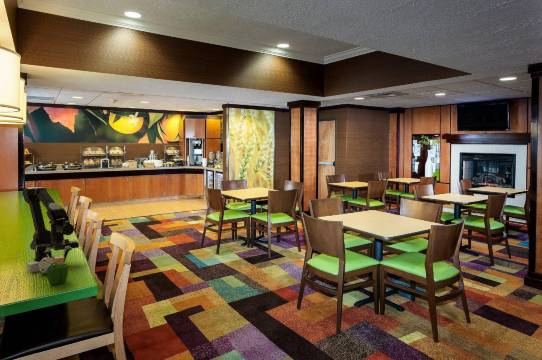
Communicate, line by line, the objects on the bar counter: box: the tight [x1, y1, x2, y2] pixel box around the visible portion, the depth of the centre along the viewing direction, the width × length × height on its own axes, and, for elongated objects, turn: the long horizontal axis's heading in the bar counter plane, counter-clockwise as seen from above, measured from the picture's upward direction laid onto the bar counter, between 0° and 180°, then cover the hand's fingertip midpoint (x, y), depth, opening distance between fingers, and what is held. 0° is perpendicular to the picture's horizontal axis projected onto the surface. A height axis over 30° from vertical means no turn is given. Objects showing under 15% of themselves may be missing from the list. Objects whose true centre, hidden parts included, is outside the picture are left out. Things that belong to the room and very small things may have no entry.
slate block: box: [26, 261, 41, 273], centre depth 185 cm, size 4×4×4 cm
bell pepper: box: [46, 262, 69, 286], centre depth 169 cm, size 8×8×10 cm
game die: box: [36, 256, 55, 275], centre depth 181 cm, size 9×8×10 cm
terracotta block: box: [52, 254, 65, 265], centre depth 195 cm, size 5×5×4 cm
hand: (58, 262), depth 195 cm, fingers closed on terracotta block, 5 cm apart
